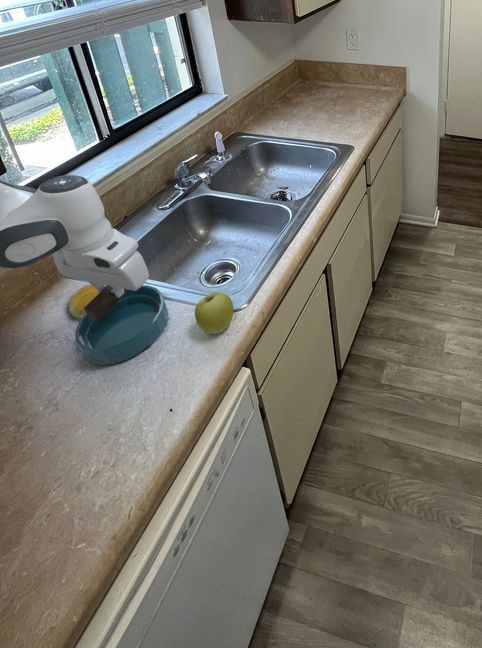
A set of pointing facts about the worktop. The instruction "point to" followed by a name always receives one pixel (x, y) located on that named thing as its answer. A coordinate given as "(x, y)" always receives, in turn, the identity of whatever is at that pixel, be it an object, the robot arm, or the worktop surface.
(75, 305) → the bread roll
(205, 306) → the apple
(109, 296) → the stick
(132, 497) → the worktop surface
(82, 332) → the bowl
